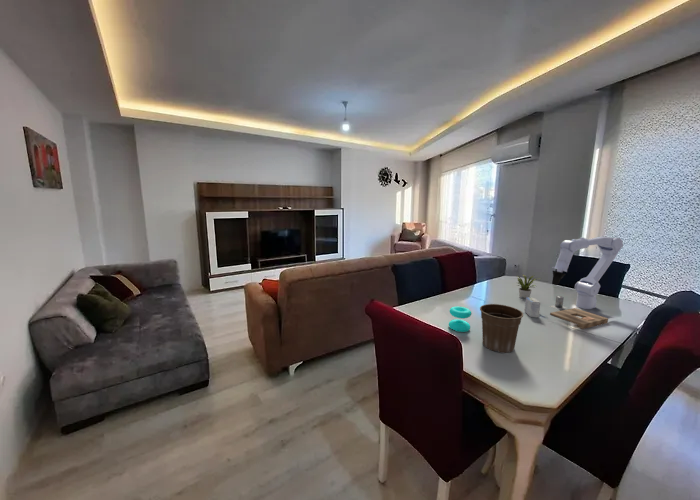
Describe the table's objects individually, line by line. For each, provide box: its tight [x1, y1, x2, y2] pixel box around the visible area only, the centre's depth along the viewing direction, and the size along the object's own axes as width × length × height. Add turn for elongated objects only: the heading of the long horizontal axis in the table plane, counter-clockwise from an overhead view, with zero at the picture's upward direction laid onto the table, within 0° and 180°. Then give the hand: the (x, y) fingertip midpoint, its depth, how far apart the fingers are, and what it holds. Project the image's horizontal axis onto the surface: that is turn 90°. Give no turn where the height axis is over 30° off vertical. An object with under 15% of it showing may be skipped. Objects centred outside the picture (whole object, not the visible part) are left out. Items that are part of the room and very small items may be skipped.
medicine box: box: [524, 297, 541, 318], centre depth 158 cm, size 8×4×9 cm, turn 168°
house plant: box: [516, 274, 541, 299], centre depth 183 cm, size 14×14×16 cm
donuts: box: [448, 305, 472, 333], centre depth 140 cm, size 10×10×10 cm
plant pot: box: [479, 303, 524, 354], centre depth 122 cm, size 16×16×16 cm
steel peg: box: [554, 295, 564, 308], centre depth 166 cm, size 4×4×6 cm
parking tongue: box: [549, 304, 569, 311], centre depth 166 cm, size 8×6×2 cm
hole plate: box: [549, 307, 609, 330], centre depth 151 cm, size 20×16×3 cm
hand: (554, 284), depth 161 cm, fingers open, 7 cm apart
